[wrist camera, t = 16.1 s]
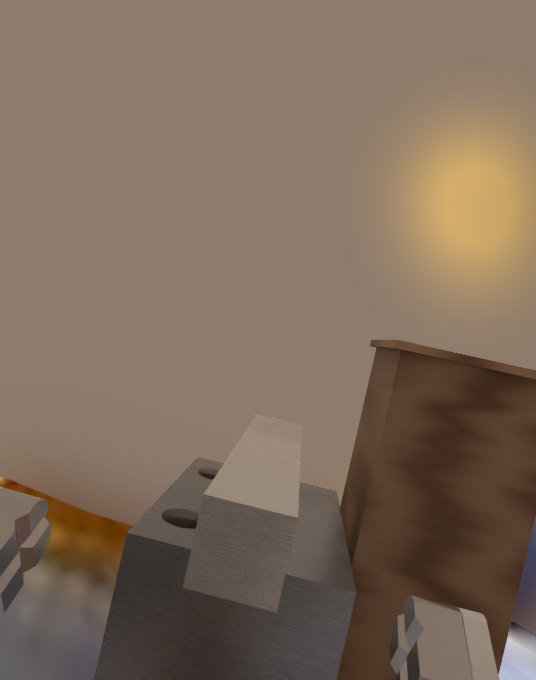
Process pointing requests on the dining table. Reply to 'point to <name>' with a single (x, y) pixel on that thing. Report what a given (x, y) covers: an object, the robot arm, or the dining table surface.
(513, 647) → the dining table surface
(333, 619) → the riser block
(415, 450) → the tall wooden cabinet
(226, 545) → the grey rectangular block
